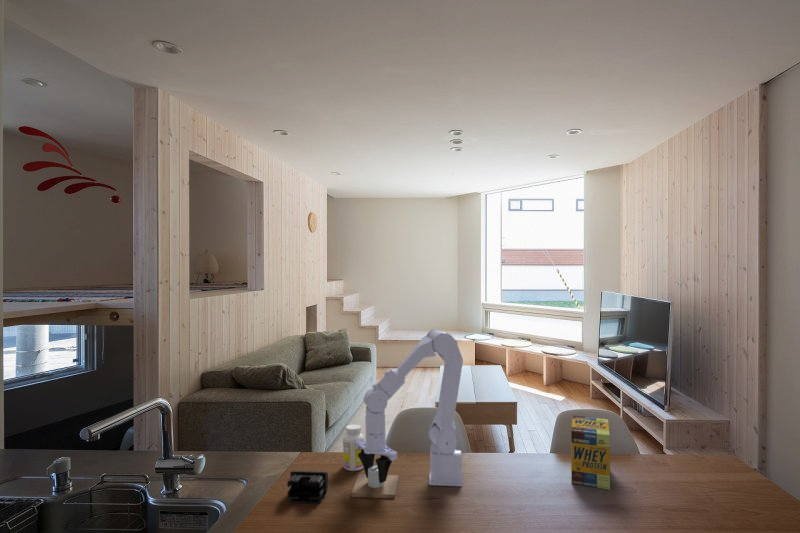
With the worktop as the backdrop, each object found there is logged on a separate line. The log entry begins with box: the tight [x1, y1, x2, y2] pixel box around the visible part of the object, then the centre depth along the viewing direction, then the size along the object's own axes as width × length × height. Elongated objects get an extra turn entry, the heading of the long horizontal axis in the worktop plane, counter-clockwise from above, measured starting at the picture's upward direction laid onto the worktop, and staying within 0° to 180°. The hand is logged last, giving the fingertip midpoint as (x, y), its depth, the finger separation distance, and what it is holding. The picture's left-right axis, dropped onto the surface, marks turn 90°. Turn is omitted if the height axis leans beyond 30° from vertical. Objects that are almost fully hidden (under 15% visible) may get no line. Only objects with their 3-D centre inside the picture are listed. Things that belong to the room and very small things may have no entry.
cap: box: [368, 465, 384, 488], centre depth 137 cm, size 5×5×5 cm
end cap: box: [286, 470, 329, 505], centre depth 131 cm, size 10×7×7 cm
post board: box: [350, 473, 400, 499], centre depth 137 cm, size 12×12×3 cm
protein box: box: [570, 415, 611, 490], centre depth 142 cm, size 10×15×16 cm
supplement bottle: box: [342, 423, 365, 472], centre depth 150 cm, size 7×7×13 cm
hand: (376, 479), depth 137 cm, fingers closed on cap, 5 cm apart
